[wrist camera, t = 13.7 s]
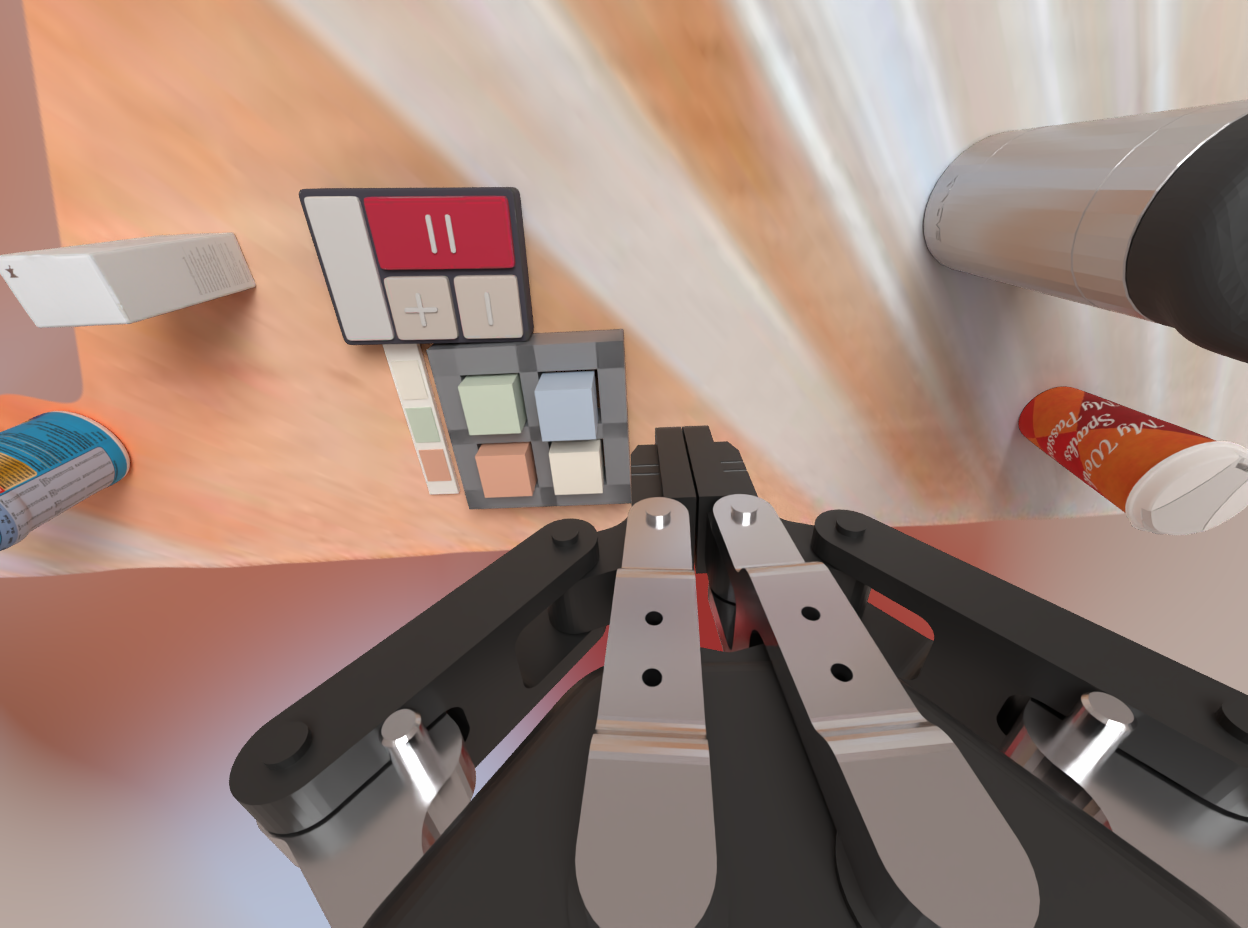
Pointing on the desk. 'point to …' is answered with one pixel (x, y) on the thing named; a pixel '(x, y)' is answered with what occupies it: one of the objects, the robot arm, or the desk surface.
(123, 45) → the desk surface
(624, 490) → the keypad base
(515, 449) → the terracotta key
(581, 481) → the cream key
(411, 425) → the strip
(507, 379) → the sage key
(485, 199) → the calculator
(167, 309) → the skincare box
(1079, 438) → the paper cup
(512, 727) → the robot arm
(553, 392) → the slate key
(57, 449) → the beverage bottle
